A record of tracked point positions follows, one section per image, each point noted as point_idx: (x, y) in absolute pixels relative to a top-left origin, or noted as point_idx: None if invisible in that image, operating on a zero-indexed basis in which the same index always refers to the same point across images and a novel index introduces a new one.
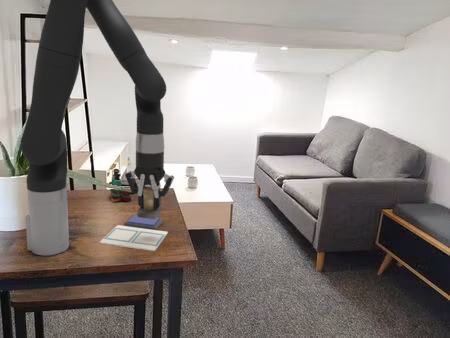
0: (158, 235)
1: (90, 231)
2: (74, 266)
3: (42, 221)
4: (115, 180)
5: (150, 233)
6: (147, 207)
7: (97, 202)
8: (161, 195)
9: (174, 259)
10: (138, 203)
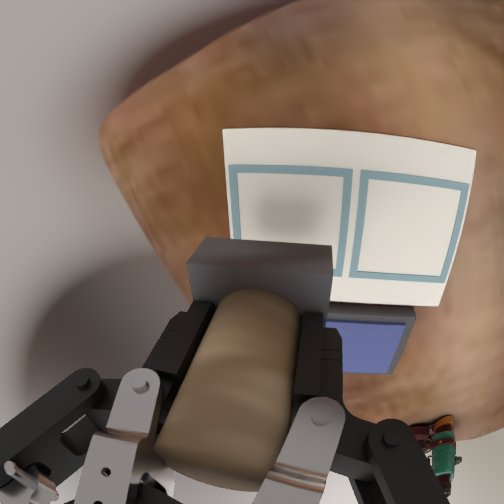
0: None
1: None
2: None
3: None
4: (448, 471)
5: None
6: (251, 305)
7: (483, 403)
8: (97, 379)
9: (134, 98)
10: (340, 344)
